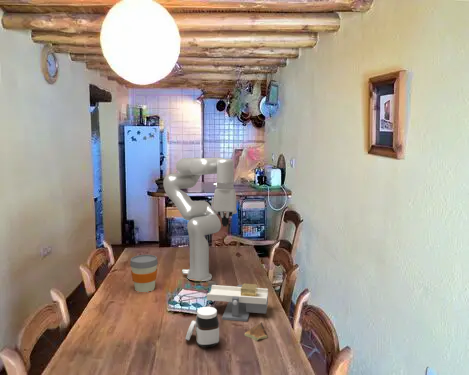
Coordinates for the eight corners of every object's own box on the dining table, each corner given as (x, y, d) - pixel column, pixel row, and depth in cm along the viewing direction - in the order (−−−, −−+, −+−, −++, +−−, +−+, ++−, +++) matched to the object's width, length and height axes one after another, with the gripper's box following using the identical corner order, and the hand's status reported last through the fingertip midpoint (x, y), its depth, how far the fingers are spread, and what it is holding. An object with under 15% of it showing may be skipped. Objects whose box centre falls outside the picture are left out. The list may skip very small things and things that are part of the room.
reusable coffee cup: (130, 295, 179) (129, 263, 177) (131, 285, 191) (130, 255, 189) (158, 293, 181) (157, 261, 179) (158, 283, 193) (157, 253, 191)
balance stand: (222, 319, 155) (222, 299, 154) (229, 301, 172) (229, 283, 171) (247, 321, 154) (247, 300, 153) (252, 303, 171) (252, 284, 169)
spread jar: (221, 347, 135) (221, 315, 133) (188, 353, 132) (188, 320, 130) (213, 331, 146) (213, 301, 145) (183, 335, 143) (182, 305, 142)
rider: (240, 298, 159) (240, 288, 158) (243, 292, 164) (243, 283, 164) (255, 299, 158) (255, 289, 157) (257, 293, 163) (257, 284, 163)
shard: (261, 325, 151) (261, 321, 151) (277, 332, 147) (278, 327, 146) (243, 336, 143) (243, 331, 143) (260, 343, 138) (260, 339, 138)
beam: (206, 309, 160) (206, 294, 159) (212, 299, 170) (212, 284, 169) (265, 314, 156) (266, 298, 155) (267, 303, 166) (268, 288, 165)
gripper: (207, 186, 175) (207, 227, 177) (240, 187, 173) (240, 228, 175) (210, 184, 182) (211, 223, 185) (242, 185, 180) (242, 224, 182)
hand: (225, 225), depth 180 cm, fingers closed
